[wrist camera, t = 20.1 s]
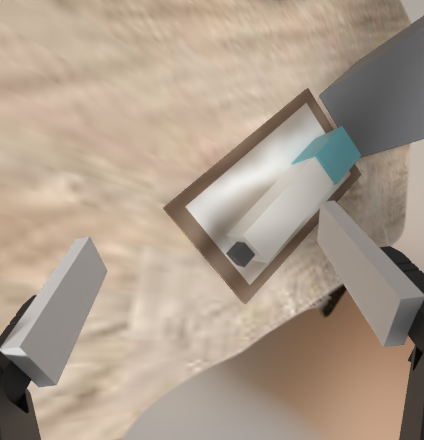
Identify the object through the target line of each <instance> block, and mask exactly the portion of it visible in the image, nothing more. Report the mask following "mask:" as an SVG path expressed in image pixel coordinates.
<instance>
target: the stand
mask: <svg viewBox="0 0 424 440" xmlns="http://www.w3.org/2000/svg"><path fill="white" fill-rule="evenodd" d="M319 97H320V98H321V100H322V102H323V103H324V105H325V106H326V108H327V110H328V111H329V113H330V115H331V116H332V118H333V120H334V121H335V123H336V125H337V126H338V128H339V127H341V126H343V128H344V130H345V131H346V133H347V134H348V136H349V137H350V139H351V140H352V142H353V143H354V145H355V146H356V148H357V149H358V151H359V152H360V154H361V156H360V158H361V157H364V156H368V155H371V154H374V153H378V152H381V151H385V150H388V149H391V148H395V147H398V146H402V145H405V144H408V143H412V142H415V141H419V140H422V139H424V16H423V17H421V18H420V19H418V20H417V21H415V22H414V23H413V24H411V25H410V26H408V27H407V28H405V29H404V30H402V31H401V32H400V33H398V34H397V35H395V36H394V37H392V38H391V39H389V40H388V41H387V42H385V43H384V44H382V45H381V46H379V47H378V48H376V49H375V50H374V51H372V52H371V53H369V54H368V55H366V56H365V57H363V58H362V59H361V60H359V61H358V62H357V63H356V64H355V65H353V66H352V67H351V68H350V69H349V70H348V71H347V72H345V73H344V74H343V75H342V76H341V77H340V78H338V79H337V80H336V81H335V82H334V83H333V84H332V85H330V86H329V87H328V88H327V89H326V90H325V91H323V92H322V93H321V94H320V95H319Z"/></svg>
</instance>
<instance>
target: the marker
mask: <svg viewBox="0 0 424 440" xmlns="http://www.w3.org/2000/svg"><path fill="white" fill-rule="evenodd" d="M360 156H361V154H360V152H359V151H358V149H357V148H356V146H355V145H354V143H353V142H352V140H351V139H350V137H349V136H348V134H347V133H346V131H345V130H344V128H343V126H341V127H339V128H337V129H335V130H332V131H330V132H328V133H326V134H324V135H322V136H319V137H317V138H315V139H314V140H313V141H312V142H311V143H310V144H309V145H308V146H307V147H306V148H305V149H304V151H303V152H302V153H301V154H300V155H299V156H298V157H297V158H296V159H295V160H294V161H293V162H292V163H291V164H292V165H291V166H290V167H289V168H288V170H287V171H286V172H285V173H284V174H283V175H282V176H281V177H280V178H279V179H278V180H277V181H276V182H275V183H274V184H273V185H272V187H271V188H270V189H269V190H268V191H267V192H266V193H265V194H264V195H263V196H262V197H261V198H260V199H259V200H258V201H257V202H256V204H255V205H254V206H253V207H252V208H251V209H250V210H249V211H248V212H247V213H246V214H245V215H244V216H243V217H242V218H241V219H240V221H239V222H238V223H237V224H236V225H235V226H234V227H233V228H232V229H231V230H230V231H229V232H228V233H227V234H226V235H227V236H228V237H229V238H230V239H231V240H232V241H233V242H234V245H233V246H232V248H231V249H230V250H229V251H228V252H227V253H226V254H227V255H228V256H229V258H230V259H231V260H232V261H233V262H234V263H235V264H236V265H237V266H241V267H245V266H246V265H247V264H248V263H249V262H250V261H251V260H255V261H259V262H264V263H268V262H269V261H270V260H271V258H272V257H273V256H274V255H275V254H276V252H277V251H278V250H279V249H280V248H281V246H282V245H283V244H284V243H285V242H286V241H287V239H288V238H289V237H290V236H291V235H292V233H293V232H294V231H295V230H296V229H297V227H298V226H299V225H300V224H301V223H302V221H303V220H304V219H305V218H306V217H307V215H308V214H309V213H310V212H311V211H312V209H313V208H314V207H315V206H316V205H317V203H318V202H319V201H320V200H321V199H322V197H323V196H324V195H325V194H326V193H327V191H328V190H329V189H330V188H331V187H332V185H335V184H338V183H339V182H340V180H341V179H342V178H343V177H344V176H345V174H346V173H347V172H348V171H349V170H350V168H351V167H352V166H353V165H354V164H355V162H356V161H357V160H358V159H359V158H360Z"/></svg>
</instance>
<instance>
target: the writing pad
mask: <svg viewBox="0 0 424 440" xmlns="http://www.w3.org/2000/svg"><path fill="white" fill-rule="evenodd" d="M332 130H334V129H333V128H332V126H331V125H330V123H329V121H328V120H327V118H326V116H325V115H324V113H323V112H322V110H321V108H320V107H319V105H318V103H317V102H316V100H315V98H314V97H313V95H312V94H311V92H310V90H309V89H308V88H307V89H306V90H304V91H303V92H302V93H301V94H300V95H298V96H297V97H296V98H295V99H294V100H292V101H291V102H290V103H289V104H288V105H286V106H285V107H284V108H283V109H282V110H280V111H279V112H278V113H277V114H276V115H274V116H273V117H272V118H271V119H269V120H268V121H267V122H266V123H265V124H263V125H262V126H261V127H260V128H259V129H257V130H256V131H255V132H254V133H253V134H251V135H250V136H249V137H248V138H247V139H245V140H244V141H243V142H242V143H241V144H239V145H238V146H237V147H236V148H235V149H233V150H232V151H231V152H230V153H229V154H227V155H226V156H225V157H224V158H223V159H221V160H220V161H219V162H218V163H217V164H215V165H214V166H213V167H212V168H211V169H209V170H208V171H207V172H206V173H205V174H203V175H202V176H201V177H200V178H198V179H197V180H196V181H195V182H194V183H192V184H191V185H190V186H189V187H188V188H186V189H185V190H184V191H183V192H182V193H180V194H179V195H178V196H177V197H176V198H174V199H173V200H172V201H171V202H170V203H168V204H167V205H166V206H165V207H164V208H163V209H164V210H165V211H166V213H167V214H168V215H169V216H170V217H171V218H172V220H173V221H174V222H175V223H176V224H177V226H178V227H179V228H180V229H181V230H182V231H183V233H184V234H185V235H186V236H187V237H188V239H189V240H190V241H191V242H192V243H193V244H194V246H195V247H196V248H197V249H198V250H199V252H200V253H201V254H202V255H203V256H204V257H205V259H206V260H207V261H208V262H209V263H210V265H211V266H212V267H213V268H214V269H215V270H216V272H217V273H218V274H219V275H220V276H221V278H222V279H223V280H224V281H225V282H226V283H227V285H228V286H229V287H230V288H231V289H232V290H233V292H234V293H235V294H236V295H237V296H238V298H239V299H240V300H241V301H242V302H243V303H244V304H246V303H247V302H248V301H249V300H250V299H251V298H252V297H253V296H254V294H255V293H256V292H257V291H258V290H259V289H260V288H261V287H262V285H263V284H264V283H265V282H266V281H267V280H268V279H269V278H270V276H271V275H272V274H273V273H274V272H275V271H276V270H277V269H278V267H279V266H280V265H281V264H282V263H283V262H284V261H285V260H286V258H287V257H288V256H289V255H290V254H291V253H292V252H293V251H294V249H295V248H296V247H297V246H298V245H299V244H300V243H301V242H302V240H303V239H304V238H305V237H306V236H307V235H308V234H309V233H310V232H311V230H312V229H313V228H314V227H315V226H316V225H317V224H318V223H319V213H320V202H327V201H334V200H335V201H336V202H337V201H338V200H339V199H340V198H341V197H342V196H343V194H344V193H345V192H346V191H347V190H348V189H349V188H350V187H351V185H352V184H353V183H354V182H355V181H356V180H357V179H358V178H359V176H360V175H361V173H360V172H359V170H358V168H357V167H356V165H355V164H354V165H353V166H352V167H351V168H350V170H349V171H348V172H347V173H346V174H345V176H344V177H343V178H342V179H341V180H340V182H339V183H338V184H335V185H332V187H331V188H330V189H329V190H328V191H327V193H326V194H325V195H324V196H323V197H322V199H321V200H320V201H319V202H318V203H317V205H316V206H315V207H314V208H313V209H312V211H311V212H310V213H309V214H308V215H307V217H306V218H305V219H304V220H303V221H302V223H301V224H300V225H299V226H298V227H297V229H296V230H295V231H294V232H293V233H292V235H291V236H290V237H289V238H288V239H287V241H286V242H285V243H284V244H283V245H282V246H281V248H280V249H279V250H278V251H277V252H276V254H275V255H274V256H273V257H272V258H271V260H270V261H269V262H268V263H264V262H259V261H255V260H251V261H250V262H249V263H248V264H247V265H246V266H245V267H241V266H237V265H236V264H235V263H234V262H233V261H232V260H231V259H230V258H229V256H228V255H227V254H226V253H227V252H228V251H229V250H230V249H231V248H232V246H233V245H234V242H233V241H232V240H231V239H230V238H229V237H228V236H227V235H226V234H227V233H228V232H229V231H230V230H231V229H232V228H233V227H234V226H235V225H236V224H237V223H238V222H239V221H240V219H241V218H242V217H243V216H244V215H245V214H246V213H247V212H248V211H249V210H250V209H251V208H252V207H253V206H254V205H255V204H256V202H257V201H258V200H259V199H260V198H261V197H262V196H263V195H264V194H265V193H266V192H267V191H268V190H269V189H270V188H271V187H272V185H273V184H274V183H275V182H276V181H277V180H278V179H279V178H280V177H281V176H282V175H283V174H284V173H285V172H286V171H287V170H288V168H289V167H290V166H291V165H292V164H291V163H292V162H293V161H294V160H295V159H296V158H297V157H298V156H299V155H300V154H301V153H302V152H303V151H304V149H305V148H306V147H307V146H308V145H309V144H310V143H311V142H312V141H313V140H314V139H315V138H317V137H319V136H322V135H324V134H326V133H328V132H330V131H332Z"/></svg>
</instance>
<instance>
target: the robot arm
mask: <svg viewBox="0 0 424 440" xmlns="http://www.w3.org/2000/svg"><path fill="white" fill-rule="evenodd" d="M317 243H318V245H319V246H320V248H321V249H322V251H323V253H324V254H325V256H326V257H327V259H328V260H329V262H330V264H331V265H332V267H333V268H334V270H335V271H336V273H337V275H338V276H339V278H340V279H341V281H342V282H343V284H344V286H345V287H346V289H347V290H348V292H349V293H350V295H351V297H352V298H353V300H354V301H355V303H356V305H357V306H358V308H359V309H360V311H361V312H362V314H363V315H364V317H365V319H366V320H367V322H368V323H369V325H370V327H371V328H372V330H373V331H374V333H375V334H376V336H377V338H378V339H379V341H380V342H381V344H382V346H383V347H388V346H397V345H404V343H405V341H406V339H407V336H409V337H410V338H411V340H412V341H413V342H414V343H415V347H414V349H413V351H412V353H411V355H410V357H409V359H408V361H410V362H411V368H410V374H409V380H408V386H407V393H406V399H405V406H404V412H403V419H402V425H401V431H400V438H399V440H424V273H423V272H422V271H419V268H418V267H417V266H415V265H414V264H413V263H411V261H410V260H409V259H408V258H407V257H406V256H405V255H404V254H403V253H402V252H400V251H398V250H396V249H394V248H392V247H390V246H388V247H381V248H379V247H378V246H377V245H376V243H375V242H374V241H373V240H372V239H371V238H370V237H369V236H368V235H367V234H366V233H365V232H364V231H363V230H362V229H361V228H360V227H359V226H358V225H357V223H356V222H355V221H354V220H353V219H352V218H351V217H350V216H349V215H348V214H347V213H346V212H345V211H344V210H343V209H342V208H341V207H340V206H339V205H338V203H337V202H336V201H335V200H334V201H327V202H320V213H319V224H318V235H317ZM106 274H107V269H106V267H105V265H104V263H103V261H102V259H101V257H100V255H99V254H98V252H97V250H96V248H95V246H94V244H93V242H92V240H91V238H90V237H83V238H77V239H76V241H75V242H74V243H73V245H72V246H71V248H70V249H69V251H68V252H67V253H66V255H65V256H64V258H63V259H62V260H61V262H60V263H59V265H58V266H57V268H56V269H55V270H54V272H53V273H52V275H51V276H50V278H49V279H48V280H47V282H46V283H45V285H44V286H43V288H42V289H41V290H40V292H39V293H38V295H34V296H32V297H31V298H30V299H29V300H28V301H27V302H26V303H25V304H23V306H22V307H21V308H20V310H19V311H18V312H17V314H16V317H14V318H13V319H12V321H11V322H10V325H8V326H7V327H6V329H5V330H4V331H3V333H2V334H1V336H0V440H41V438H40V433H39V429H38V424H37V420H36V416H35V411H34V407H33V402H32V398H31V394H30V392H29V390H28V389H27V387H28V385H29V383H30V381H31V380H32V381H33V382H34V383H35V384H36V385H37V386H38V387H45V386H53V385H57V383H58V381H59V379H60V376H61V374H62V372H63V370H64V367H65V365H66V363H67V361H68V359H69V356H70V354H71V352H72V350H73V347H74V345H75V343H76V341H77V338H78V336H79V334H80V332H81V329H82V327H83V325H84V323H85V321H86V318H87V316H88V314H89V312H90V309H91V307H92V305H93V303H94V300H95V298H96V296H97V294H98V292H99V289H100V287H101V285H102V283H103V280H104V278H105V276H106Z"/></svg>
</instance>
